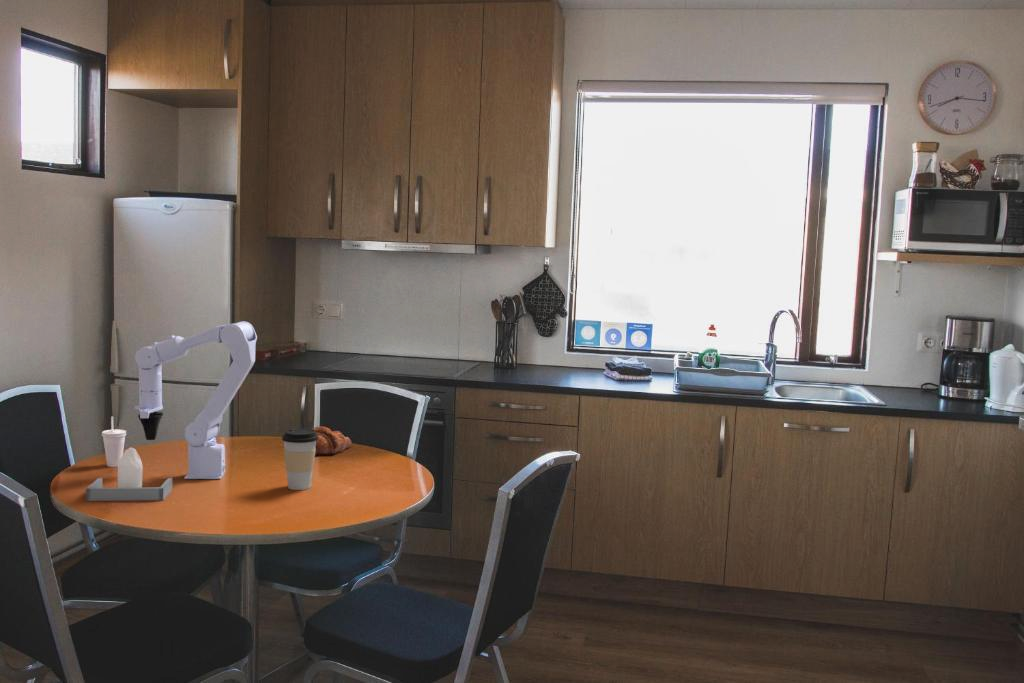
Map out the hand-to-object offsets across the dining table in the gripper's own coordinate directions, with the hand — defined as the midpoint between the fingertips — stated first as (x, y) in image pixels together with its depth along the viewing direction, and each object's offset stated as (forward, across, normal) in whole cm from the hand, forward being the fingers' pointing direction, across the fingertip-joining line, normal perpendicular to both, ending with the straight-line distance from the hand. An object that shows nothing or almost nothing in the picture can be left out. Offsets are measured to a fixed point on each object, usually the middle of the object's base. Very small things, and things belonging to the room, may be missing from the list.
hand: (151, 439), depth 247 cm
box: (+9, +21, 0) cm, 23 cm away
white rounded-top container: (+10, +20, 0) cm, 22 cm away
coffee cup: (+10, +15, +41) cm, 45 cm away
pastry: (+10, -27, +45) cm, 53 cm away
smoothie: (+10, -9, -12) cm, 18 cm away
